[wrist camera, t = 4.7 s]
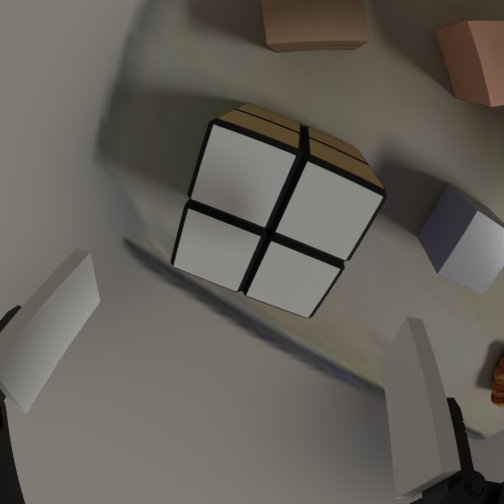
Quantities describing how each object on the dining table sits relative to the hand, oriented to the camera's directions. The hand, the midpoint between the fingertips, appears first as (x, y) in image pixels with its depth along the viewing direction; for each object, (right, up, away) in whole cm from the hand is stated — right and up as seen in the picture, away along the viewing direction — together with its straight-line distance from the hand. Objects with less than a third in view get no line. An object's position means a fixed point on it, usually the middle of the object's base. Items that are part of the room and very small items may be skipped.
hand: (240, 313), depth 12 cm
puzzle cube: (+3, +9, +14) cm, 17 cm away
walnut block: (+5, +20, +6) cm, 22 cm away
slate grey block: (+20, +5, +13) cm, 24 cm away
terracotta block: (+19, +18, +5) cm, 26 cm away
